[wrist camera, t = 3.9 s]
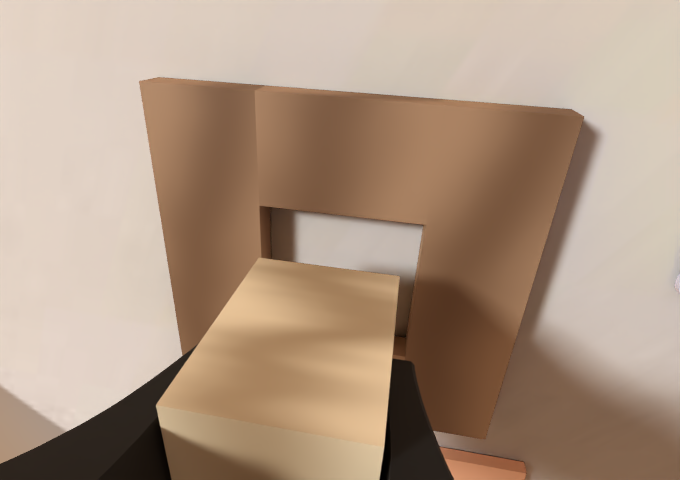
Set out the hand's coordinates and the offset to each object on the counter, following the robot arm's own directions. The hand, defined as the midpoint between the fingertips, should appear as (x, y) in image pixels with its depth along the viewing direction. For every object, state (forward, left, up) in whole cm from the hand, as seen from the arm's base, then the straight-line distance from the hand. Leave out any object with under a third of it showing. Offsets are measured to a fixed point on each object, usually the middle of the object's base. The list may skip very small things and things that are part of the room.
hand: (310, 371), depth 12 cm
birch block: (0, 0, -2) cm, 2 cm away
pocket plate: (0, 0, -6) cm, 6 cm away
